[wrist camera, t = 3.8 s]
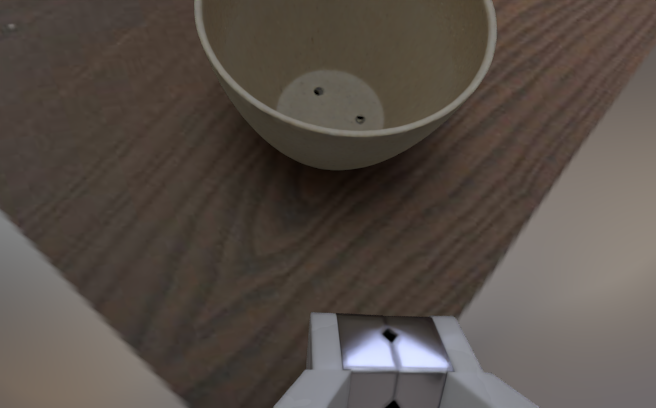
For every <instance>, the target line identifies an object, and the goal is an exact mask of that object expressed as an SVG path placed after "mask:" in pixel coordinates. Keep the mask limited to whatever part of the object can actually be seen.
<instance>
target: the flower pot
mask: <svg viewBox="0 0 656 408" xmlns="http://www.w3.org/2000/svg"><path fill="white" fill-rule="evenodd" d="M194 13H195V23H196V28H197V32H198V35H199V38H200V41H201V43H202V46H203V48H204V51H205V53H206V55H207V58H208V60H209V62H210V65H211V67H212V69H213V71H214V73H215V75H216V77H217V78H218V80H219V82H220V84H221V86H222V88H223V89H224V91H225V92H226V94H227V96H228V97H229V99H230V100H231V102H232V103H233V104H234V106H235V107H236V109H237V110H238V111H239V113H240V114H241V115H242V117H243V118H244V119H245V120H246V121H247V122H248V123H249V125H250V126H251V127H252V128H253V129H254V130H255V131H256V132H257V133H258V134H259V135H260V136H261V137H262V138H263V139H265V140H266V141H267V142H268V143H269V144H270V145H272V146H273V147H274V148H276V149H277V150H278V151H280V152H281V153H283V154H285V155H286V156H288V157H290V158H292V159H293V160H296V161H298V162H300V163H302V164H305V165H308V166H311V167H315V168H319V169H325V170H351V169H357V168H362V167H366V166H370V165H374V164H377V163H380V162H382V161H385V160H387V159H389V158H392V157H394V156H396V155H398V154H400V153H402V152H403V151H405V150H407V149H409V148H410V147H412V146H414V145H415V144H417V143H418V142H420V141H421V140H423V139H424V138H425V137H427V136H428V135H429V134H430V133H432V132H433V131H434V130H436V129H437V128H438V127H439V126H440V125H442V124H443V123H444V122H445V121H446V120H447V119H449V118H450V117H451V116H452V115H453V114H454V113H455V112H456V111H457V110H458V109H459V108H460V107H461V106H462V105H463V103H464V102H465V101H466V100H467V99H468V98H469V97H470V96H471V95H472V93H473V92H474V91H475V90H476V88H477V87H478V86H479V84H480V83H481V81H482V80H483V78H484V77H485V75H486V73H487V71H488V69H489V67H490V65H491V62H492V59H493V55H494V52H495V47H496V40H497V25H496V15H495V10H494V6H493V3H492V0H195V1H194ZM314 91H315V92H317V93H318V94H319V95H316V94H315V93H314ZM357 117H363V119H358V118H357Z"/></svg>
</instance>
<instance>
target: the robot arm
mask: <svg viewBox="0 0 656 408" xmlns="http://www.w3.org/2000/svg"><path fill="white" fill-rule="evenodd" d="M273 408H540V407H539V406H537V405H536V404H534V403H533V402H532V401H530V400H529V399H527V398H526V397H525V396H523V395H522V394H520V393H519V392H518V391H516V390H515V389H513V388H512V387H511V386H509V385H508V384H506V383H505V382H504V381H502V380H501V379H499V378H498V377H497V376H495V375H494V374H492V373H486V372H483V370H482V368H481V366H480V364H479V362H478V360H477V358H476V356H475V354H474V352H473V350H472V348H471V346H470V344H469V342H468V341H467V338H466V336H465V334H464V333H463V331H462V329H461V327H460V325H459V323H458V321H457V319H456V318H455V317H453V316H429V317H412V316H383V315H364V314H343V313H336V314H335V313H314V312H311V315H310V323H309V336H308V350H307V366H306V370H304V372H303V373H302V374H301V375H300V376H299V377H298V379H297V380H296V381H295V382H294V383H293V385H292V386H291V387H290V388H289V389H288V390H287V392H286V393H285V394H284V395H283V396H282V397H281V399H280V400H279V401H278V402H277V403H276V405H275V406H274V407H273Z"/></svg>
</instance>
